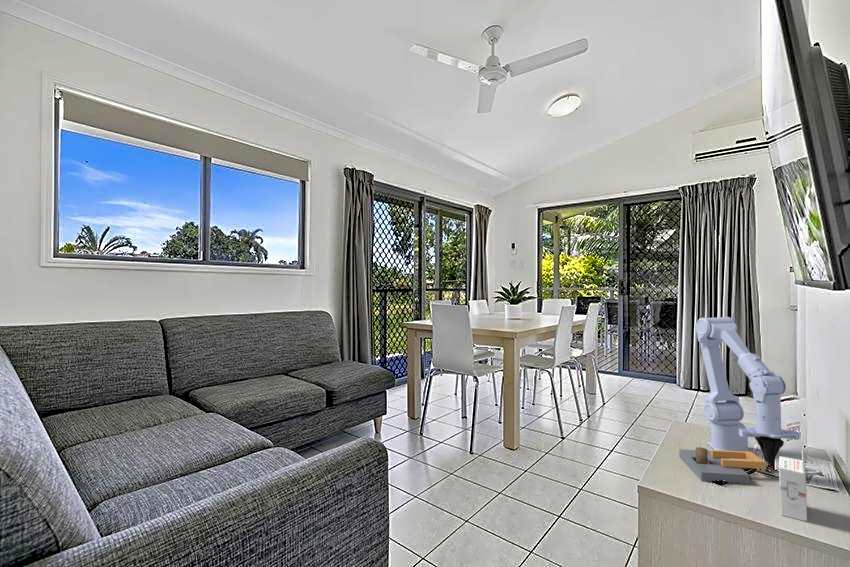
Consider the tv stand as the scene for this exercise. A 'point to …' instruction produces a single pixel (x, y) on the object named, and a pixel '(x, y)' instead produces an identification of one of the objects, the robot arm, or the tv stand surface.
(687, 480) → the tv stand surface
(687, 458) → the housing
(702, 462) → the peg
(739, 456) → the cap
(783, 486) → the ink cartridge box
